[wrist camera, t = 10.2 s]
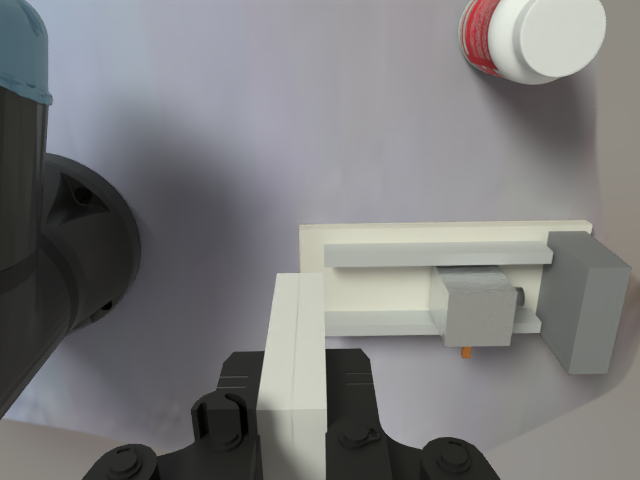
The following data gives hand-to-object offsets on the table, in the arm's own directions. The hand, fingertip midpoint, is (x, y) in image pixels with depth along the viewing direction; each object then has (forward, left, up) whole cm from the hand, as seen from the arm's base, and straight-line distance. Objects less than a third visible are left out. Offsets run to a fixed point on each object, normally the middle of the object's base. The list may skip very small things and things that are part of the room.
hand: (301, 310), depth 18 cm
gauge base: (+11, -12, -26) cm, 31 cm away
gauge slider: (+13, -13, -25) cm, 31 cm away
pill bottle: (+14, +8, -27) cm, 31 cm away
